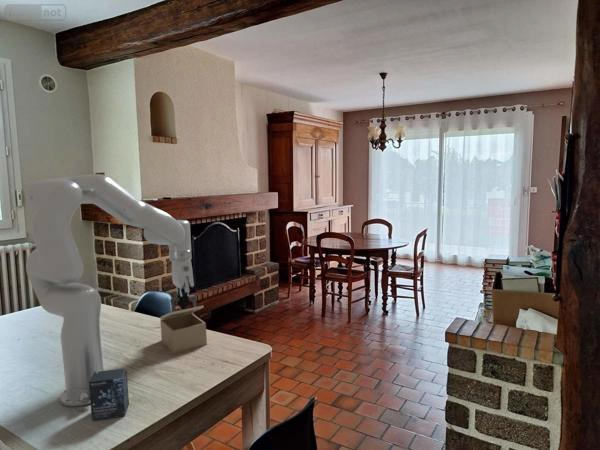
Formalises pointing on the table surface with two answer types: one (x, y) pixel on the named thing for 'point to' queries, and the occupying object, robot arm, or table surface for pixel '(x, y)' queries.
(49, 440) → the table surface
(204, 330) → the tan open container
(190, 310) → the door
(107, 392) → the box
